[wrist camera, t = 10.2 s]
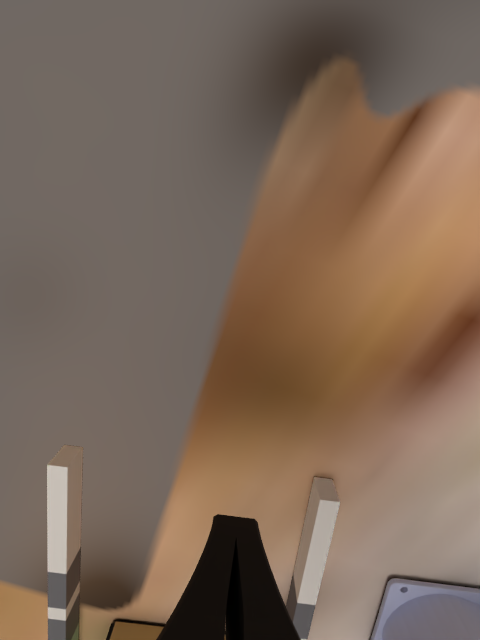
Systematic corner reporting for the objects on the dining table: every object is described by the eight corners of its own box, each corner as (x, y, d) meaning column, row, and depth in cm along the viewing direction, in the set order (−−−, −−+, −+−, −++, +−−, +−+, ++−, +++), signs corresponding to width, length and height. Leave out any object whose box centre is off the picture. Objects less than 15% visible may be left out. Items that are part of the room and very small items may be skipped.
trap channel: (332, 479, 23) (340, 502, 21) (271, 745, 29) (272, 782, 27) (64, 444, 23) (47, 464, 21) (62, 720, 29) (48, 755, 27)
